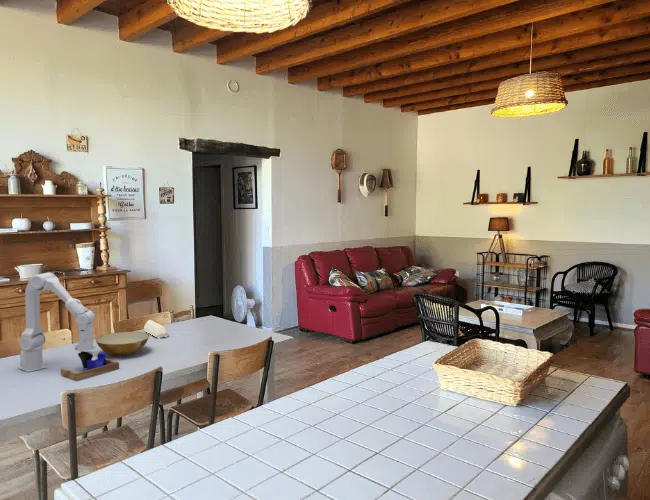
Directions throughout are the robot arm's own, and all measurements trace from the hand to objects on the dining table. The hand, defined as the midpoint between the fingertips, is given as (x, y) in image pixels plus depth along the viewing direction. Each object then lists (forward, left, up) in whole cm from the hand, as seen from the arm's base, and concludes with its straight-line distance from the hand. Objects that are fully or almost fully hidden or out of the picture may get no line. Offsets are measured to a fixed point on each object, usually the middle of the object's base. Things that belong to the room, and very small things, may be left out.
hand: (86, 368), depth 218 cm
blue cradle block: (+2, +3, -1) cm, 4 cm away
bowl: (-11, +26, -2) cm, 28 cm away
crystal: (-28, +60, -2) cm, 66 cm away
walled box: (+3, 0, -1) cm, 3 cm away
